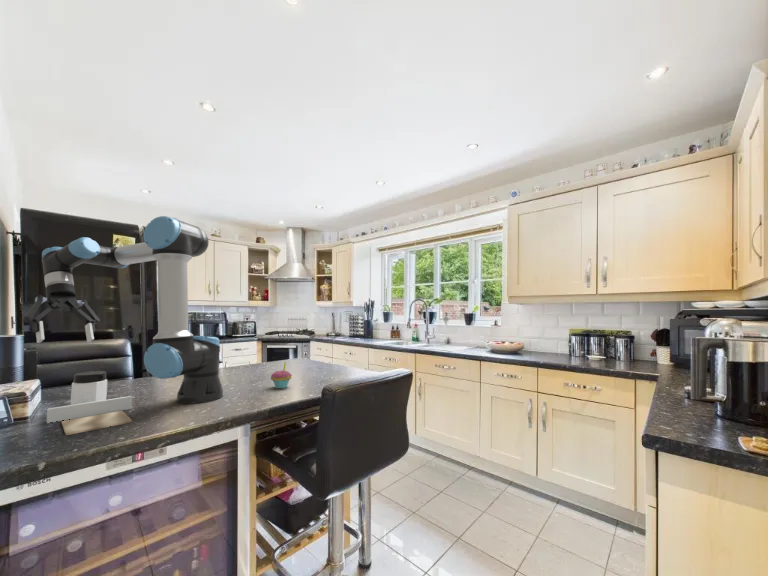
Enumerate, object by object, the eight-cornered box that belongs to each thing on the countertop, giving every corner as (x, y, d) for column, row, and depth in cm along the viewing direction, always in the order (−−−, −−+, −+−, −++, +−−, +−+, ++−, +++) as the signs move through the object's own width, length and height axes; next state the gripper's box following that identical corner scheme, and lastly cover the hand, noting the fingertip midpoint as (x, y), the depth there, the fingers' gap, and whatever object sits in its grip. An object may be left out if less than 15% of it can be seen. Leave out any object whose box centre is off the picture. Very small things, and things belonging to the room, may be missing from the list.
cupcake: (294, 385, 146) (294, 357, 147) (286, 390, 137) (287, 360, 138) (275, 385, 147) (276, 357, 147) (266, 389, 138) (267, 360, 139)
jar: (66, 415, 104) (69, 376, 105) (72, 408, 110) (75, 372, 111) (103, 410, 109) (106, 373, 109) (107, 404, 115) (109, 369, 116)
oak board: (122, 412, 106) (122, 410, 106) (131, 422, 97) (131, 420, 97) (61, 423, 96) (61, 421, 96) (65, 435, 87) (66, 433, 87)
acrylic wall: (130, 407, 112) (131, 395, 112) (131, 408, 111) (132, 396, 111) (46, 422, 97) (47, 408, 97) (46, 423, 96) (47, 409, 96)
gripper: (94, 295, 132) (102, 344, 126) (5, 287, 109) (9, 346, 103) (105, 286, 130) (114, 336, 124) (17, 276, 107) (22, 335, 101)
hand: (67, 340), depth 113 cm, fingers open, 13 cm apart
